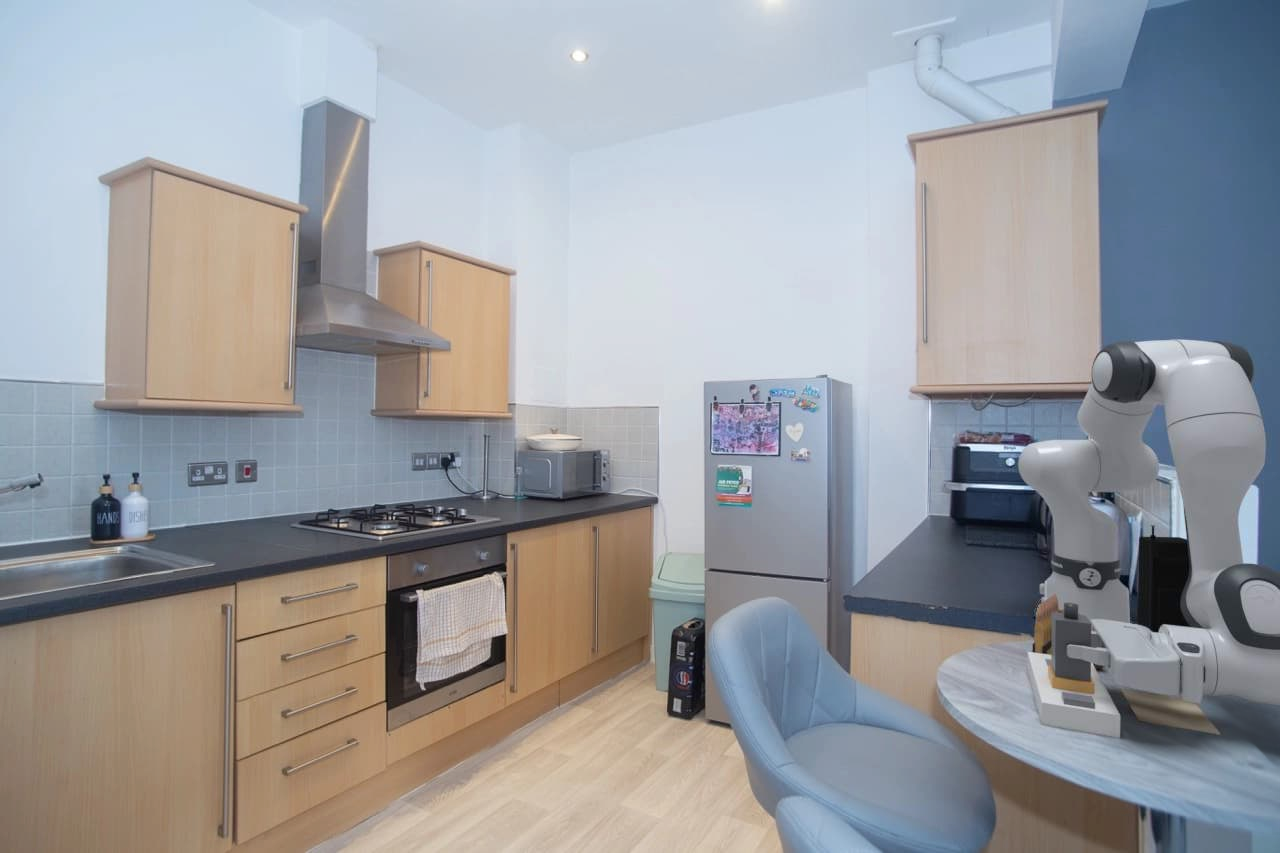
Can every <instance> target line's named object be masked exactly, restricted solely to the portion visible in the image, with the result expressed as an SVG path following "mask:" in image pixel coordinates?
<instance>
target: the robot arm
mask: <svg viewBox="0 0 1280 853" xmlns="http://www.w3.org/2000/svg"><path fill="white" fill-rule="evenodd" d="M1254 375H1255V366H1254V361H1253V359H1252V357H1251V355H1250V353H1249V352H1248V350H1247V349H1246V348H1244V346H1241V345H1239V344H1236V343H1232V342H1228V341H1227V342H1226V341H1223V340H1222V341H1221V340H1213V341H1206V340H1196V339H1183V338H1182V339H1175V338H1173V339H1163V340H1162V339H1161V340H1159V339H1158V340H1144V341H1143V340H1142V341H1131V340H1126V341H1118V342H1113V343H1110V344H1107V345H1105V346H1103V348H1101V350H1099V351H1098V353H1097V354H1096V356H1095V358H1094V360H1093V363H1092V367H1091V384H1090V386H1089V388H1088V390H1087V391H1086V394H1085V397H1084V398H1083V401H1082V403H1081V405H1080V408H1079V409H1078V412H1077V417H1076V418H1077V419H1076V420H1077V423H1078V427H1079V428H1080V430H1081V431H1082V432H1083V434H1085V435H1086V436H1087V437H1088V438H1089V439H1049V440H1043V441H1037V442H1032V443H1028V445H1026V446H1025V447H1024V448H1023V450H1022V451H1021V453H1020V455H1019V457H1018V461H1017V462H1018V464H1017V465H1018V468H1017V469H1018V473H1019V475H1020V477H1021V478H1022V480H1023V481H1024V483H1025V484H1026V485H1028V486H1029V488H1031V489H1033V490H1034V491H1035V492H1037V493H1038V494H1039V496H1040V497H1042V498H1043V500H1044V502H1045V504H1046V505H1047V506H1048V509H1049V511H1050V514H1051V517H1052V521H1053V530H1054V532H1053V536H1054V552H1053V554H1052V556H1051V557H1052V559H1051V570H1052V573H1051V575H1050V576H1049V577H1048V578H1046V580H1045V581H1044V582H1043V583H1040V584H1039V594H1040V595H1044V596H1042V597H1041V598H1040V600H1041V602H1044V601H1045V600H1047V599H1048V598H1050V597H1051V596H1053V595H1054V594H1056V596H1057V600H1058V607H1059V610H1064V603H1074V604H1077V605H1078V613H1079V614H1080V615H1085V616H1087V618H1088V619H1089V621H1090V623H1091V647H1087V646H1081V644H1077V643H1067V644H1066V653H1067V655H1068V656H1069V657H1070V658H1076V659H1082V660H1085V661H1088V662H1091V663H1094V664H1097V665H1102V666H1104V667H1106V669H1107V671H1108V672H1109V674H1110V676H1111V678H1112V679H1113V681H1114V683H1117V684H1119V685H1121V686H1124V687H1125V688H1128V689H1129V688H1130V689H1132V690H1136V691H1137V690H1138V691H1141V692H1146V693H1151V694H1157V695H1164V696H1171V697H1177V696H1178V698H1180V699H1181V700H1183V701H1187V702H1193V703H1196V704H1200V703H1203V702H1202V701H1203V695H1207V696H1213V697H1214V696H1216V697H1217V696H1234V697H1237V698H1241V699H1244V700H1245V701H1249V702H1254V703H1261V704H1270V705H1275V706H1276V705H1277V706H1280V572H1278V571H1277V570H1275V569H1273V568H1270V567H1268V566H1266V565H1265V566H1264V565H1262V564H1257V563H1244V560H1243V558H1244V557H1243V550H1242V543H1241V535H1240V528H1239V527H1240V526H1239V513H1240V508H1241V506H1242V503H1243V500H1245V496H1246V494H1247V492H1248V491H1249V489H1250V487H1251V486H1252V485H1253V483H1254V482H1255V480H1256V479H1257V477H1259V474H1260V473H1261V472H1262V471H1263V468H1264V466H1265V463H1266V456H1267V454H1266V453H1267V450H1266V449H1267V439H1266V438H1267V437H1266V431H1265V426H1264V421H1263V417H1262V413H1261V410H1260V406H1259V403H1258V400H1257V396H1256V394H1255V391H1254V389H1253V387H1252V383H1253V379H1254ZM1157 406H1163V408H1164V415H1165V424H1166V430H1167V438H1168V442H1169V446H1170V452H1171V456H1172V460H1173V464H1174V468H1175V471H1176V476H1177V479H1178V480H1177V481H1178V484H1179V485H1178V486H1179V490H1180V495H1181V499H1182V505H1183V515H1184V525H1185V526H1184V527H1185V534H1186V539H1187V545H1188V554H1189V565H1190V569H1189V576H1188V580H1187V582H1186V585H1185V587H1184V589H1183V592H1182V595H1181V601H1180V605H1181V611H1182V614H1183V616H1184V618H1185V619H1186V621H1187V622H1188V624H1189V625H1190V626H1191V627H1184V626H1175V625H1166V624H1163V625H1162V626H1161V627H1160V629H1159V632H1158V633H1157V632H1152V631H1151V630H1150V629H1149V628H1147V627H1145V626H1142V625H1137V624H1132V623H1130V619H1131V616H1130V615H1131V613H1130V610H1131V609H1130V591H1129V588H1128V587H1127V586H1126V585H1124V584H1123V583H1122V582H1121V581H1120V578H1121V570H1122V568H1121V567H1122V566H1121V561H1120V560H1119V558H1118V553H1119V552H1118V550H1119V549H1118V547H1119V546H1118V544H1119V538H1118V537H1119V534H1118V533H1119V527H1118V524H1117V523H1116V521H1115V520H1114V518H1113V517H1112V516H1111V515H1109V514H1107V513H1106V512H1104V511H1102V510H1100V509H1099V508H1095V507H1094V506H1093V504H1091V500H1090V497H1089V493H1090V492H1091V493H1126V492H1133V491H1138V490H1144V489H1147V488H1149V487H1150V486H1152V485H1153V483H1154V482H1155V481H1156V479H1157V478H1158V475H1159V472H1160V462H1159V459H1158V456H1157V454H1156V453H1155V452H1154V450H1153V449H1152V448H1151V446H1149V445H1147V444H1146V443H1144V441H1143V433H1144V431H1145V429H1146V427H1147V425H1148V423H1149V421H1150V419H1151V417H1152V416H1153V413H1154V412H1155V409H1156V407H1157ZM1092 647H1094V648H1092Z"/></svg>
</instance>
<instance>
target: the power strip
mask: <svg viewBox="0 0 1280 853" xmlns="http://www.w3.org/2000/svg"><path fill="white" fill-rule="evenodd" d="M1026 659H1027V660H1026V661H1027V662H1026V665H1027V666H1026V667H1027V669H1026V670H1027V672H1028V678H1029V681H1030V685H1031V688H1032V689H1031V690H1032V692H1033V696H1034V700H1035V704H1036V707H1037V711H1038V715H1039V718H1040V719H1039V720H1040V722H1041V725H1045V726H1051V727H1056V728H1061V729H1066V730H1067V729H1068V730H1072V731H1079V732H1085V733H1091V734H1097V735H1102V736H1107V737H1113V738H1118V739H1120V738H1121V714H1120V713H1119V711H1118V708H1117V706H1116V705H1115V703H1114V701H1113V699H1112V697H1111V695H1110V693H1109V692H1108V690H1107V688H1106V686H1105V683H1104V682H1103V680H1102V678H1101V676H1100V675H1099V673H1098V671H1097V669H1095V667H1094V665H1093V663H1091V678H1092V680H1093V682H1094V684H1095V689H1094V694H1091V693H1085V692H1078V691H1071V690H1065V689H1058V688H1052V686H1051V683H1050V680H1049V677H1048V665H1049V666H1051V655H1049V654H1041V653H1034V652H1032V651H1027V657H1026Z"/></svg>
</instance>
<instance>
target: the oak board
mask: <svg viewBox="0 0 1280 853" xmlns="http://www.w3.org/2000/svg"><path fill="white" fill-rule="evenodd" d="M1120 691H1121V693H1122V694H1123V696H1124V698H1125V700H1126V702H1127V703H1128V704H1129V706H1130V708H1131V710H1132V711H1133V713H1134V714H1135V716H1136V718H1137V719H1138V721H1139V722H1142V723H1148V724H1154V725H1159V726H1167V727H1170V728H1171V727H1173V728H1179V729H1185V730H1191V731H1197V732H1203V733H1209V734H1213V735H1214V734H1216V735H1222V734H1221V732H1220V731H1219V730H1218V728H1217V727H1216V726H1215V725H1214V724H1213V722H1212V721H1211V720H1210V719H1209V718H1208V716H1207V715H1206V714H1205V713H1204V712H1203V710H1202V709H1201V708H1200V706H1198V705H1197V704H1198V703H1193V702H1187V701H1183V700H1181V699H1180V698H1179V696H1178V697H1177V696H1170V695H1163V694H1157V693H1152V692H1145V691H1137V690H1136V691H1135V690H1128V689H1123V688H1120Z"/></svg>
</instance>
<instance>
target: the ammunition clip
mask: <svg viewBox="0 0 1280 853" xmlns="http://www.w3.org/2000/svg"><path fill="white" fill-rule="evenodd" d="M1037 605H1038V604H1037ZM1052 612H1058V613H1059V607H1058V600H1057V596H1056V594H1054V595H1053V596H1051V597H1050V598H1048V599H1047V600H1045V601H1044V602H1042V603H1041V604H1039V605H1038V608H1037V612H1036V618H1035V624H1034V625H1035V626H1034V631H1033V632H1034V633H1033V635H1034V636H1033V639H1034V640H1033V641H1034V642H1032V651H1031V652H1034V653H1041V654H1049V655H1051V645H1052Z"/></svg>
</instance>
